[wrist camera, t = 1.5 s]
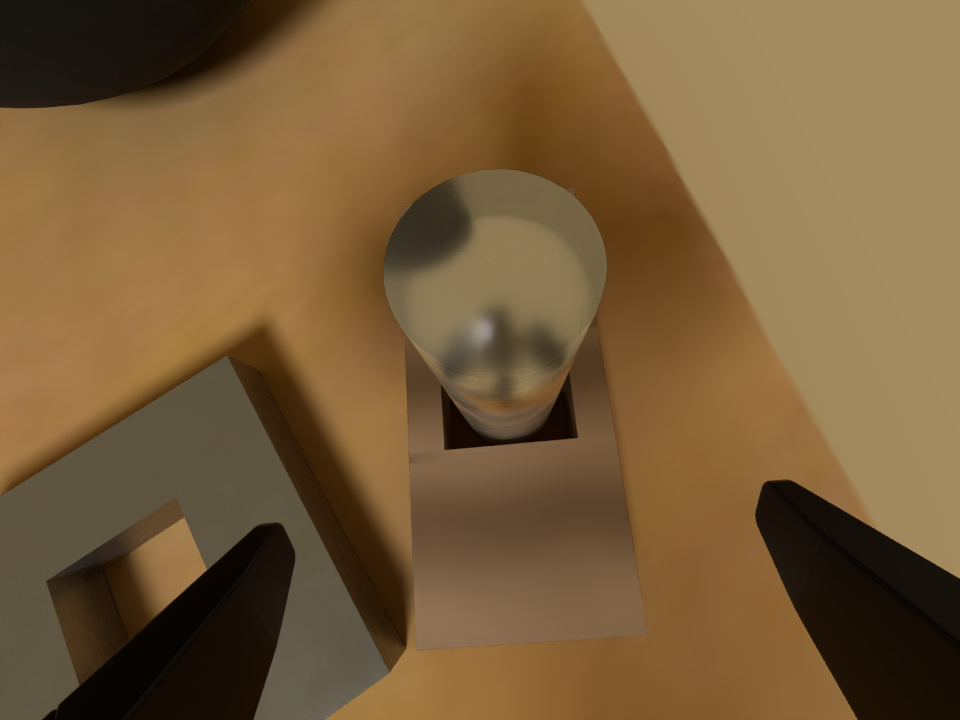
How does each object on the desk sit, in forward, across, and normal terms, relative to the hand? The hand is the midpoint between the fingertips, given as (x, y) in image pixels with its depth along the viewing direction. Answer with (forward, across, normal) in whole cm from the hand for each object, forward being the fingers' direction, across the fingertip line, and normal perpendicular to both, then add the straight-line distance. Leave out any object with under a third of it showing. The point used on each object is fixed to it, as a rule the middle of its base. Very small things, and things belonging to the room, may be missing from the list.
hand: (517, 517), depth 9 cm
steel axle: (+11, 0, +5) cm, 12 cm away
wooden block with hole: (+11, 0, +5) cm, 12 cm away
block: (+6, +14, +10) cm, 19 cm away
